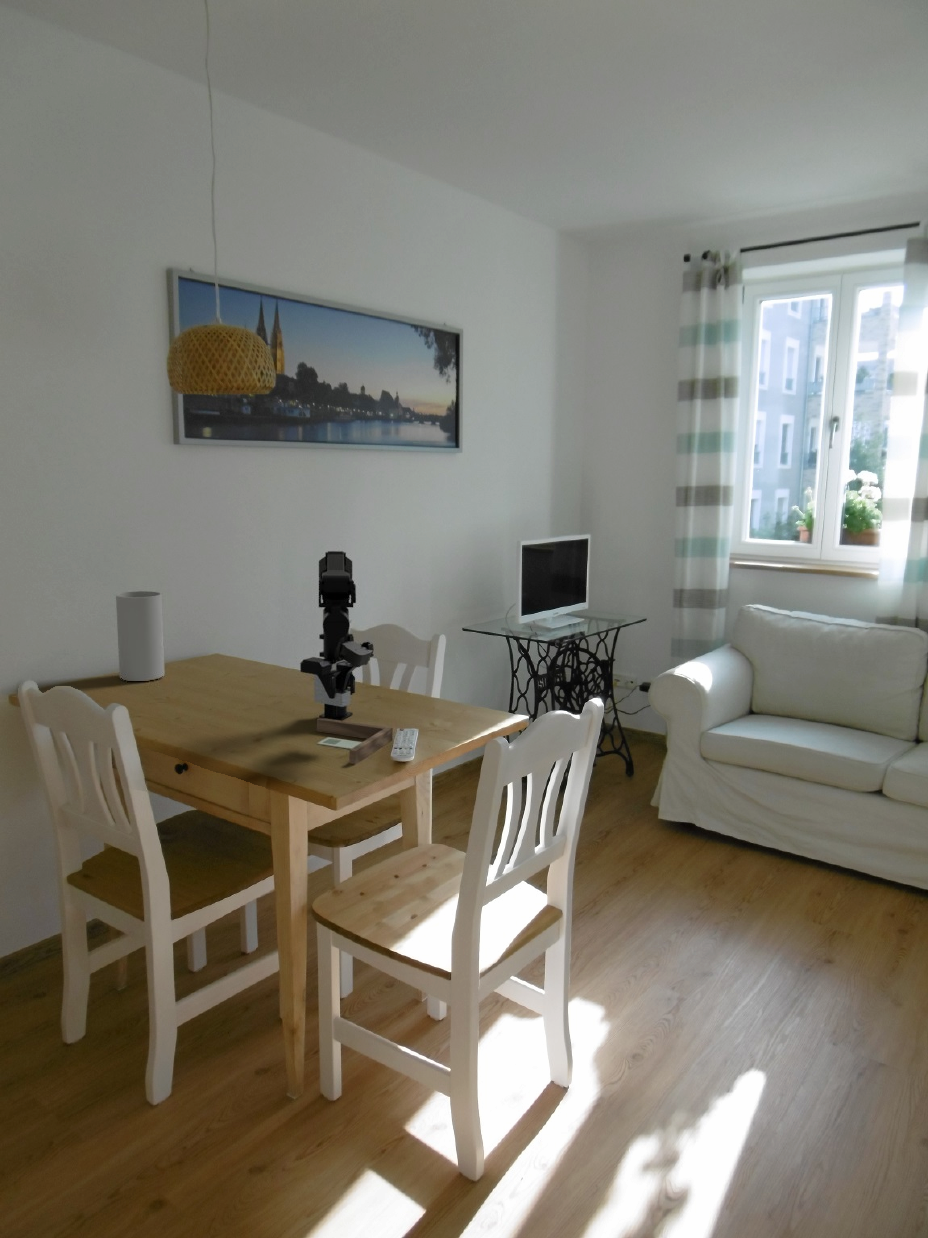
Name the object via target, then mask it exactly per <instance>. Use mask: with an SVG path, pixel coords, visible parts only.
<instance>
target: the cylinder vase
mask: <svg viewBox="0 0 928 1238" xmlns="http://www.w3.org/2000/svg"><path fill="white" fill-rule="evenodd" d="M115 603H116V606H115V607H116V627H117V628H116V629H117V647H118V649H117V651H118V671H119V673H118V674H119V678H120V679H121V678H122V679H125V680H130V681H144V680H150V679H156V678H160V677H162V676H163V677H164V676H165V655H164V654H165V653H164V652H165V650H164V649H165V648H164V626H163V625H164V624H163V621H164V619H163V599H162V592H158V591H151V590H150V591H148V590H144V591H143V590H140V591H139V590H137V591H134V590H133V591H125V592H119V593H116V594H115ZM163 677H162V678H163ZM122 679H121V680H122Z"/></svg>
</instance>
